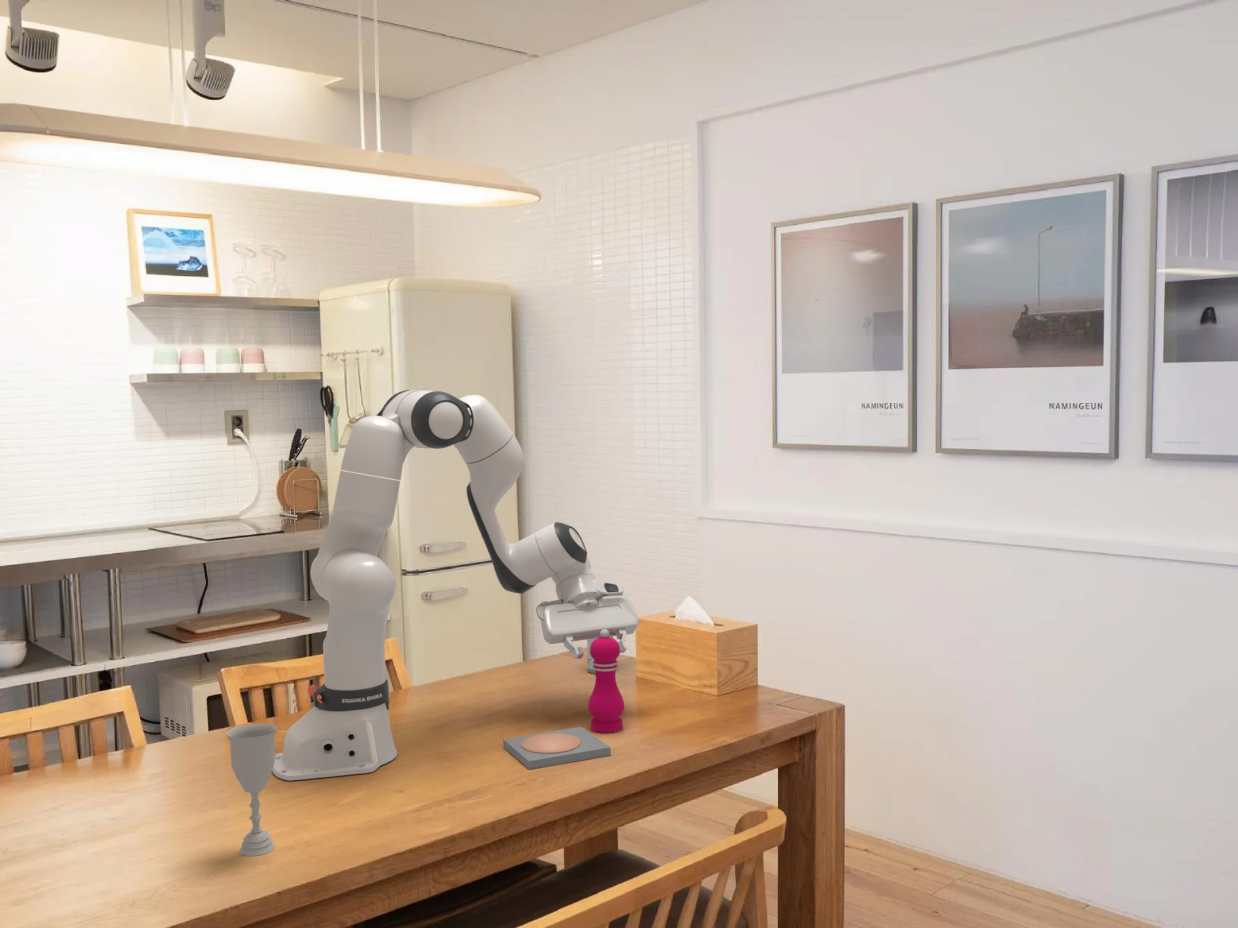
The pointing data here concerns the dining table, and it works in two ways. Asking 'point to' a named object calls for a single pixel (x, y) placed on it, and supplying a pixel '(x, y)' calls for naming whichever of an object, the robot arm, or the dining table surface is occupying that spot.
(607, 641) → the pepper mill
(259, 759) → the chalice
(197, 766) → the dining table surface
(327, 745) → the robot arm
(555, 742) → the mount board
